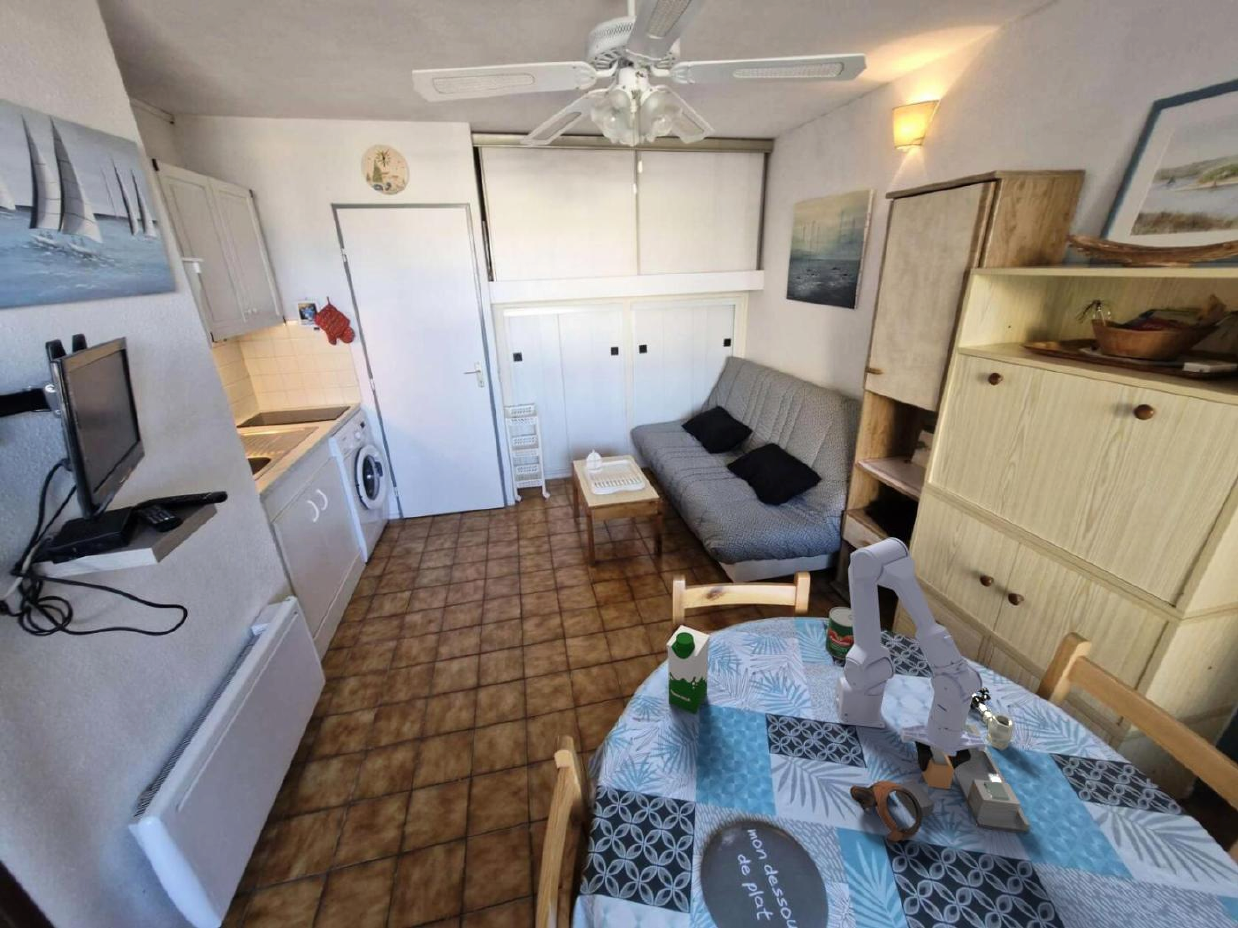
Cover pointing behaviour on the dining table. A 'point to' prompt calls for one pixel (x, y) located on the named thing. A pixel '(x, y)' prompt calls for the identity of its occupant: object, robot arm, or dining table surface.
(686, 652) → the milk carton
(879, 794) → the knobbed brown ring
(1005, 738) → the valve
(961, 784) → the rail plate
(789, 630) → the dining table surface
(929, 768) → the orange module
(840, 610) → the canned tomato
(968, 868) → the dining table surface
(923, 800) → the dark gray block
